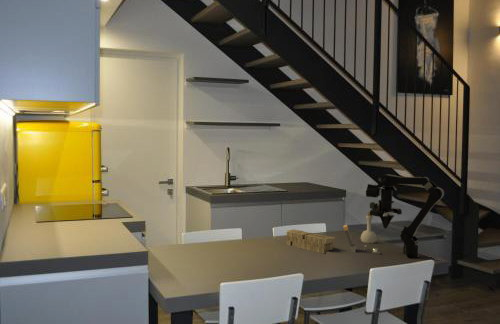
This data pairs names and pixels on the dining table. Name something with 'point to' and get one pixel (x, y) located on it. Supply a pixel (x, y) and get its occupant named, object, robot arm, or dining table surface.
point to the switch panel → (374, 251)
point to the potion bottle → (368, 232)
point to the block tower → (310, 241)
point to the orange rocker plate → (348, 235)
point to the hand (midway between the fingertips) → (385, 228)
